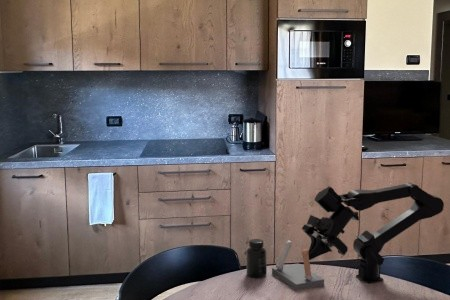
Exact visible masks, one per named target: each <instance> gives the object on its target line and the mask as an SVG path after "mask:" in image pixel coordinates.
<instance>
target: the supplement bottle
mask: <svg viewBox="0 0 450 300" xmlns="http://www.w3.org/2000/svg"><path fill="white" fill-rule="evenodd" d="M248 244H249V247H248V248H247V249H246V253H245V254H246V275H247V276H248V277H250V278H251V279H261V278H264V277H266V276H267V272H268V271H267V269H268V268H267V249H266V248H265V247H264V240H263V239H262V238H252V239H249V241H248Z"/></svg>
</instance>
